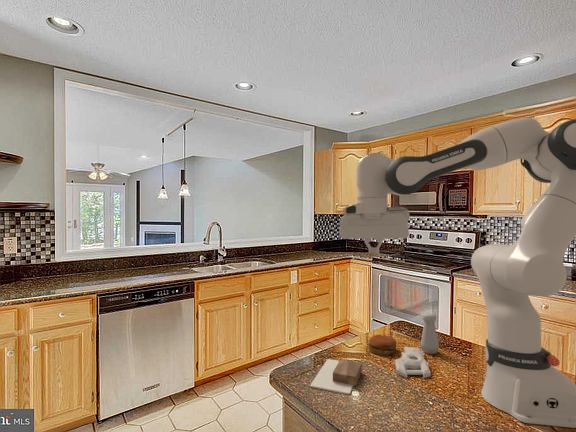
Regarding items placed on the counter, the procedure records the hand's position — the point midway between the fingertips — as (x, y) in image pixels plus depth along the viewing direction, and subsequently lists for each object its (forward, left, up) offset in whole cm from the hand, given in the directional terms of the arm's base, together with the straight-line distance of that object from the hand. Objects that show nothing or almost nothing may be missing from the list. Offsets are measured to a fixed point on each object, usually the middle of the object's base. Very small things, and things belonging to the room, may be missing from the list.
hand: (373, 253), depth 98 cm
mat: (+10, +6, -36) cm, 38 cm away
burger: (0, -17, -36) cm, 40 cm away
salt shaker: (-15, -22, -36) cm, 45 cm away
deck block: (+4, +6, -34) cm, 35 cm away
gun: (-10, -9, -36) cm, 38 cm away
